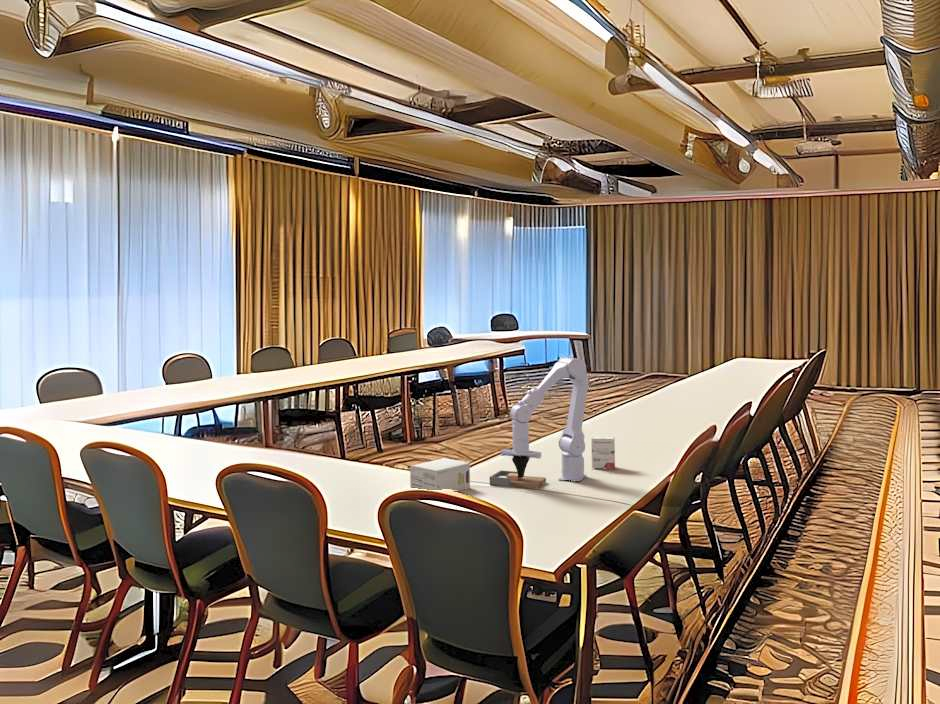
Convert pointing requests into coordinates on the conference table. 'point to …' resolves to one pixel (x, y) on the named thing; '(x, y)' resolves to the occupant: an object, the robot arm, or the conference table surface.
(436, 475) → the supplement box
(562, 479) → the robot arm
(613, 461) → the ink box
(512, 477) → the terracotta tile
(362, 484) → the conference table surface
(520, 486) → the walnut board
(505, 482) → the slate tray
